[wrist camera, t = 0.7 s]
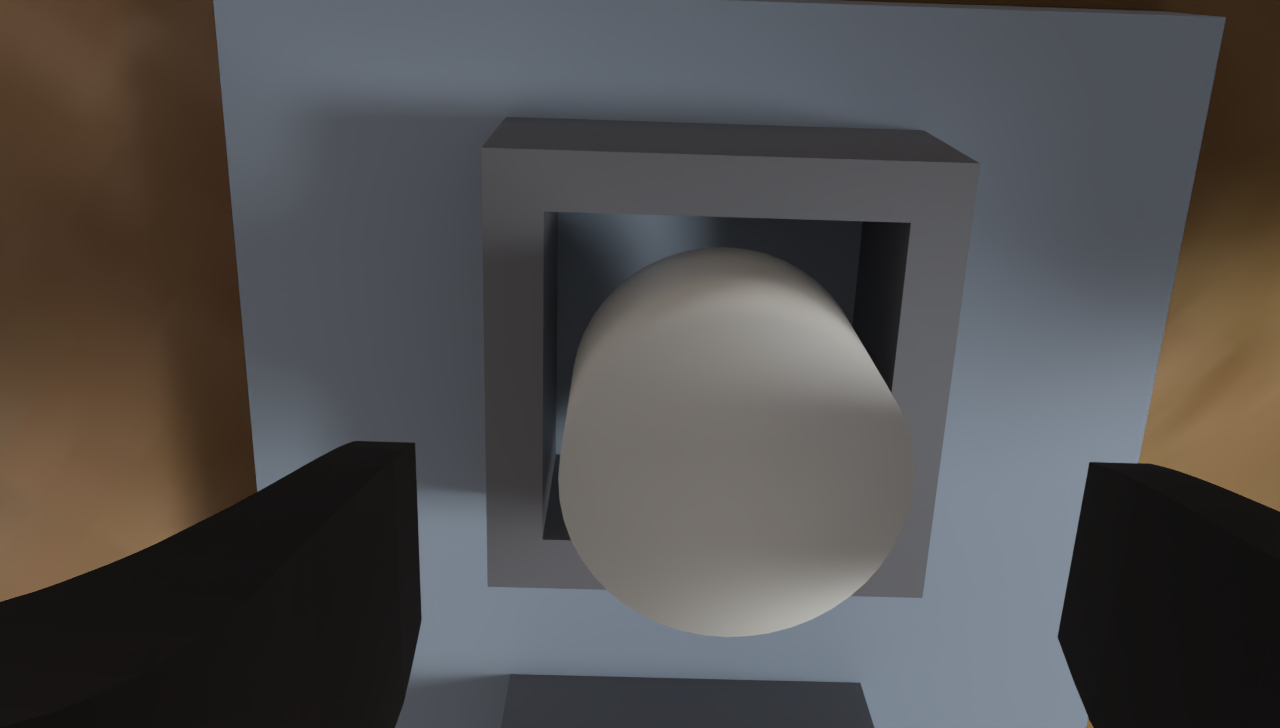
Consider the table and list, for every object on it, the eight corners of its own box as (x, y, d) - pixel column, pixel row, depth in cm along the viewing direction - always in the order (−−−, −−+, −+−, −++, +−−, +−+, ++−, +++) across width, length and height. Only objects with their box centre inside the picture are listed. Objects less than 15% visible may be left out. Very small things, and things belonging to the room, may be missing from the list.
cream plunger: (877, 251, 15) (933, 320, 12) (848, 523, 16) (893, 641, 13) (573, 242, 15) (560, 308, 12) (570, 515, 16) (557, 632, 13)
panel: (1167, 11, 19) (1345, 29, 14) (998, 943, 25) (1081, 1166, 21) (254, -20, 18) (124, -13, 14) (327, 929, 25) (258, 1151, 21)
